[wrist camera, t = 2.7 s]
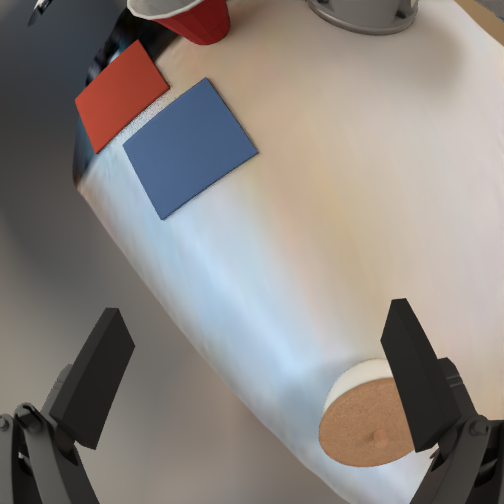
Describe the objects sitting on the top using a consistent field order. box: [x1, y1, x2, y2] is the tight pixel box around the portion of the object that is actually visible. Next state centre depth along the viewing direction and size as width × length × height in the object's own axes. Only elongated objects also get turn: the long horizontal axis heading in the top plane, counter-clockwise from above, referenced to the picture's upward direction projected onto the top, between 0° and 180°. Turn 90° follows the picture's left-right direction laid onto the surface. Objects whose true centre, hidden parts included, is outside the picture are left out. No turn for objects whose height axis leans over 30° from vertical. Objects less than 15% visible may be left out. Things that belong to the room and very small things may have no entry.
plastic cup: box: [127, 0, 230, 45], centre depth 24 cm, size 11×11×12 cm
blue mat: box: [123, 78, 258, 220], centre depth 32 cm, size 12×14×1 cm
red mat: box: [75, 40, 170, 154], centre depth 33 cm, size 12×14×1 cm
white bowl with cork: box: [319, 359, 415, 467], centre depth 26 cm, size 13×13×11 cm
